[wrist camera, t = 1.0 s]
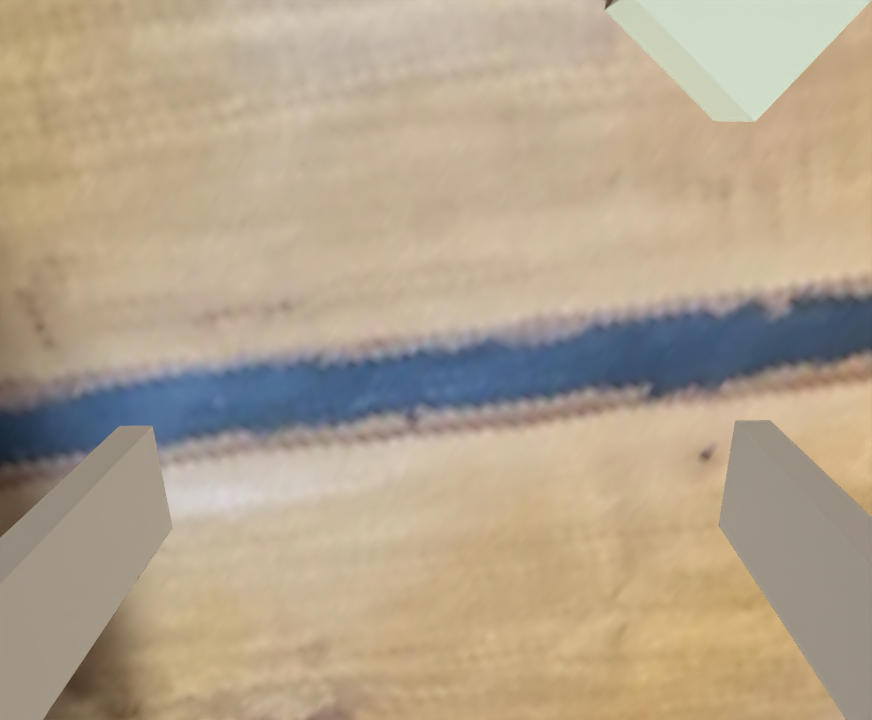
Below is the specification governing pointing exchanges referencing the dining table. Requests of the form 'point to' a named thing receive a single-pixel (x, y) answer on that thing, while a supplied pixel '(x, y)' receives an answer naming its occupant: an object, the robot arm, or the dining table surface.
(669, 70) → the sage block
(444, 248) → the dining table surface
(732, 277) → the dining table surface
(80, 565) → the robot arm
